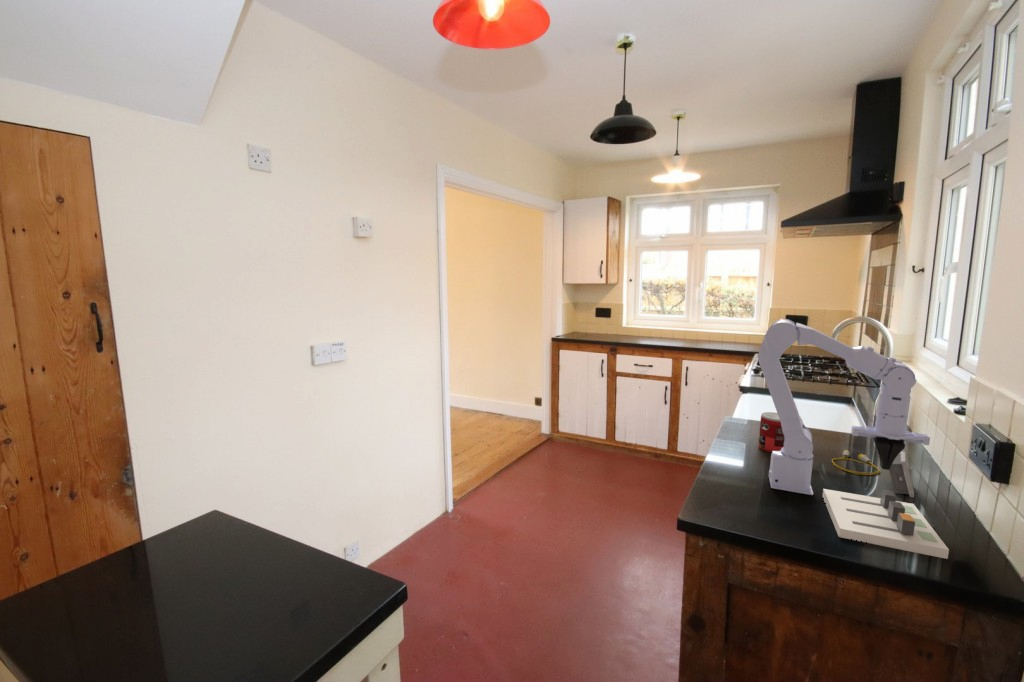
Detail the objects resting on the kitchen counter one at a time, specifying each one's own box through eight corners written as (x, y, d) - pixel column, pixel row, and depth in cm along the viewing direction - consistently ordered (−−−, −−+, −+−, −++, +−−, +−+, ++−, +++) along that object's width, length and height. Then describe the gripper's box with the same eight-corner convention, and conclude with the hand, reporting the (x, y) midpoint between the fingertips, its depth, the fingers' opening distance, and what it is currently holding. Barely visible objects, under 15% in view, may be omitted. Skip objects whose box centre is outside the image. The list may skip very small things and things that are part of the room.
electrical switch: (914, 499, 117) (914, 463, 116) (887, 495, 120) (887, 459, 119) (912, 486, 124) (913, 452, 123) (887, 482, 127) (888, 449, 126)
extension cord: (892, 468, 136) (893, 461, 136) (868, 480, 128) (869, 473, 127) (845, 454, 146) (846, 448, 146) (819, 464, 138) (820, 458, 138)
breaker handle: (901, 533, 97) (903, 519, 97) (896, 526, 100) (898, 512, 100) (913, 535, 97) (915, 521, 96) (908, 528, 99) (910, 514, 99)
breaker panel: (838, 537, 100) (841, 513, 99) (822, 496, 118) (824, 476, 117) (947, 559, 93) (951, 534, 92) (912, 511, 111) (915, 490, 110)
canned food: (760, 442, 154) (763, 410, 152) (788, 448, 149) (791, 415, 148) (756, 450, 148) (759, 416, 146) (785, 455, 143) (788, 421, 142)
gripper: (859, 414, 110) (852, 468, 112) (938, 422, 104) (929, 480, 106) (852, 406, 116) (845, 458, 118) (926, 413, 110) (918, 468, 112)
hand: (884, 468), depth 112 cm, fingers closed
